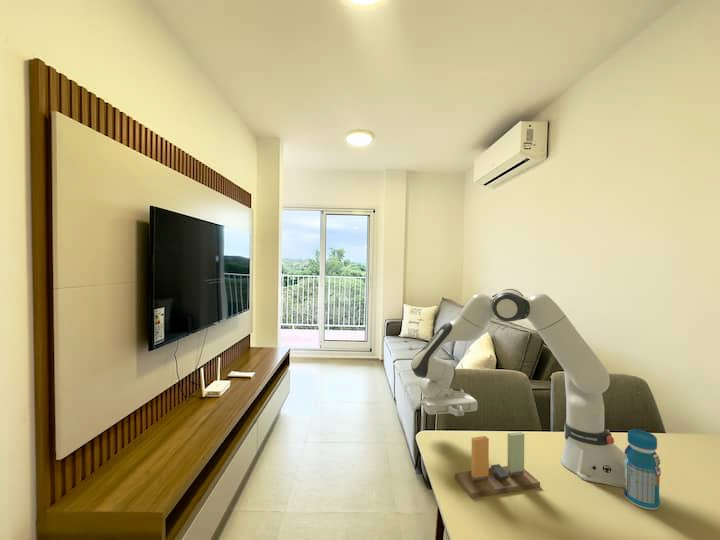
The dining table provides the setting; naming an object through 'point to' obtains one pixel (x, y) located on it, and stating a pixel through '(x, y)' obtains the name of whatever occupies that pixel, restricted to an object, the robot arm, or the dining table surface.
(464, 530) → the dining table surface
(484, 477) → the orange paddle lever
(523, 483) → the walnut switch board
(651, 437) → the beverage bottle
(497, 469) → the dark gray rocker switch
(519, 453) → the sage paddle lever
